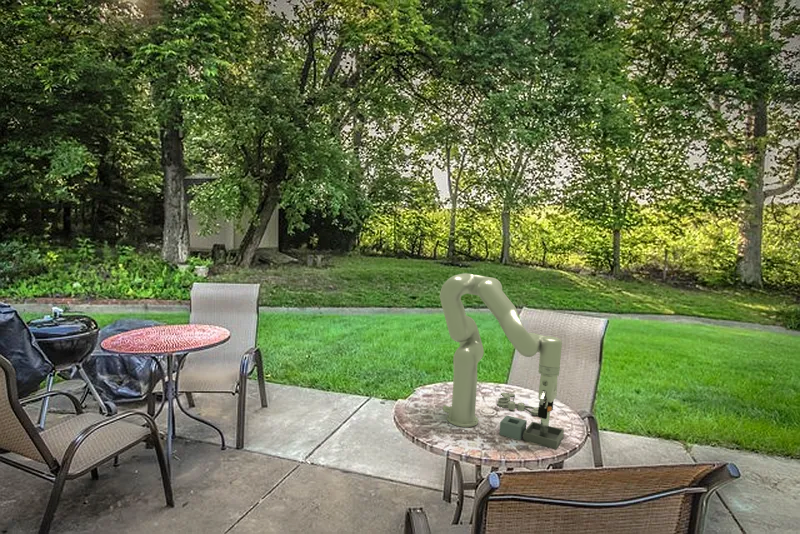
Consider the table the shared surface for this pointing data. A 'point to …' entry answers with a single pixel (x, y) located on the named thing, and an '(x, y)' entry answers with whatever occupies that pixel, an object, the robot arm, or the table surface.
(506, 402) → the pulley system
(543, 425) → the pin
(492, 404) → the table surface
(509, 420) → the block
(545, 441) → the parts tray
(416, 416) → the table surface
